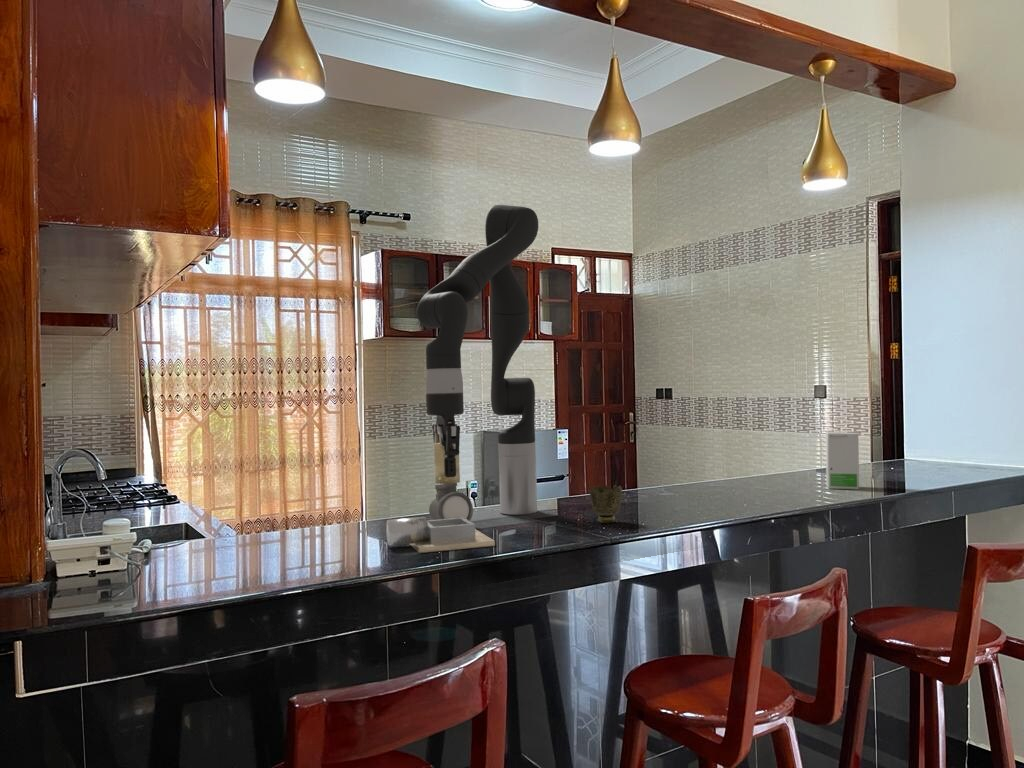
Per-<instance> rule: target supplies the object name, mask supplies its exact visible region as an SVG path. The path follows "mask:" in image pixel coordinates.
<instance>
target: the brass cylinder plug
mask: <svg viewBox="0 0 1024 768" xmlns="http://www.w3.org/2000/svg"><path fill="white" fill-rule="evenodd" d="M450 449H453V447H452V446H450ZM433 452H434V453H433V456H434V457H433V458H434V459H433V461H434V462H433V463H434V483H435V484H436V485H437V484H451V483H457V484H459V483H460V482H461V478H460V477H461V474H460V472H461V471H460V470H461V469H460V454H459V455H457V458H456V476H455V477H445V473H444V459H445V458H444V456H443V448H442V447H440V442H439V443H434V442H433Z"/></svg>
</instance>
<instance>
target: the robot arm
mask: <svg viewBox="0 0 1024 768" xmlns="http://www.w3.org/2000/svg"><path fill="white" fill-rule="evenodd" d="M484 227H485V230H484V231H485V243H486V244H485V245H486V246H485V247H483V248H481V249H479V250H476V251H474V252H473V253H472V254H470V255H467V257H465V258H464V259H463V260H462V261H461V262H460V263H459V264H458V265H457V267H455V269H454V270H453V271H452V272H451V273H450V275H449V276H448V277H446V278H445V279H444V280H442V281H440V282H439V283H438V284H437V285H435V286H434V287H432V288H431V289H429V290H428V291H427V292H426V293H425V294H424V295H423V296H422V297H421V299H420V300H419V302H418V304H417V308H416V315H417V316H416V317H417V320H418V321H419V323H420V324H421V325H422V326H423V327H424V328H428V329H431V330H432V329H439V331H438V335H437V337H436V338H435V339H432V340H431V341H429V342H428V343H427V344H426V346H425V359H426V360H425V361H426V362H425V364H426V373H425V406H426V409H425V410H426V411H425V412H426V415H427V416H433V417H434V416H436V419H435V423H434V424H433V423H432V426H431V429H432V438H433V444H434V443H439V442H440V447H442V448H443V456H444V458H445V459H444V473H445V477H455V476H456V458H457V455H459V456H460V438H461V437H460V436H461V433H460V432H461V427H460V425H458V424H456V420H455V416H458V415H459V416H460V415H463V414H464V410H465V408H464V406H465V405H464V382H463V381H464V380H463V372H462V356H461V354H462V353H461V348H462V344H463V341H464V335H465V331H466V327H467V322H468V314H469V312H468V305H467V304H468V303H471V302H472V301H473V300H474V299H475V298H476V297H477V296H478V295H479V294H480V292H481V291H482V290H483V289H484V288H485V286H487V284H488V283H489V285H490V286H489V291H490V293H489V294H490V299H489V301H490V303H489V304H490V305H489V306H490V307H489V313H490V321H489V322H490V339H491V382H490V385H491V386H490V405H491V410H492V412H493V413H494V414H495V415H496V416H521V419H520V420H519V421H518V422H517V423H516V424H514V425H512V426H510V427H508V428H504V429H503V430H500V431H499V432H498V433H497V447H498V477H499V512H500V513H501V514H504V515H517V516H518V515H519V516H520V515H530V514H535V513H538V486H537V483H538V482H537V481H538V480H537V459H536V458H537V454H536V451H537V450H536V432H535V431H536V429H535V426H536V425H535V411H536V410H535V409H536V389H535V383H534V381H533V379H532V378H530V377H507V378H505V374H506V372H507V368H508V366H509V363H510V362H511V359H512V357H513V356H514V354H515V353H516V351H517V349H518V348H519V347H520V345H521V344H522V343H523V341H524V339H525V337H526V336H527V334H528V331H529V328H530V302H529V298H528V296H527V293H526V291H525V290H524V288H523V286H522V284H521V282H520V280H519V279H518V277H517V276H516V273H515V271H514V269H513V267H512V261H514V259H516V258H517V257H518V256H519V255H520V254H522V253H523V252H524V251H526V250H527V249H528V248H529V247H530V246H531V245H532V244H533V243H534V241H535V240H536V238H537V235H538V231H539V218H538V215H537V213H536V212H535V210H533V209H532V208H529V207H527V206H526V207H525V206H519V205H507V204H506V205H505V204H495V205H494V204H493V205H492V206H491V207H490V208H489V210H488V212H487V214H486V219H485V226H484ZM450 446H452V447H453V449H450Z"/></svg>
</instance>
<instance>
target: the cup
mask: <svg viewBox="0 0 1024 768" xmlns="http://www.w3.org/2000/svg"><path fill="white" fill-rule="evenodd" d="M588 489H589V490H588V491H589V497H590V503H591V504H590V505H591V509H592V511H593V513H595V514H596V515H598V518H597V519H598V522H600V523H601V524H611V523H614V522H615V520H616V518H615V516H616V515H617V514H618V513H619V512H620V510H621V506H622V498H623V487H622V486H621V485H618V486H617V485H616V484H615V485H613V487H612V488H610V487H609V485H608V484H606V485H601V484H598V486H595V485H593V486H589V488H588Z"/></svg>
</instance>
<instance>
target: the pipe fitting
mask: <svg viewBox="0 0 1024 768" xmlns="http://www.w3.org/2000/svg"><path fill="white" fill-rule="evenodd" d="M457 486H458V483H451V484H437V483H436V484H435V485H434V487H435V488H434V489H435V490H436V493H435V499H433V500H431V503H430V504H429V508H428V512H429V513H428V514H429V515H430V518H431V520H439V519H451V518H463V517H464V518H465V519H467V520H469V521H470V522H471V519H472V517H473V514H474V508H473V503H472V500H471V498H470V497H469V496H468V495H466V494H465V493H463V492H459V491H457V490H458V489H457Z"/></svg>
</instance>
